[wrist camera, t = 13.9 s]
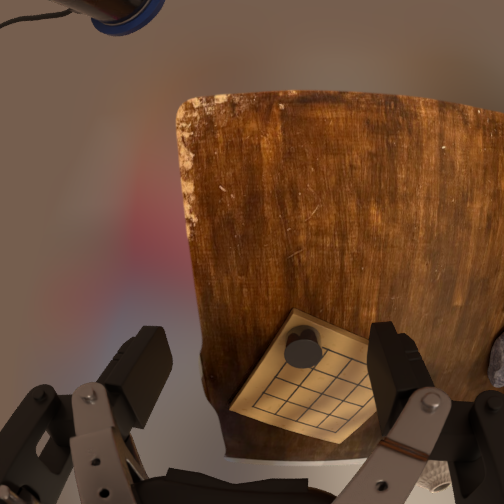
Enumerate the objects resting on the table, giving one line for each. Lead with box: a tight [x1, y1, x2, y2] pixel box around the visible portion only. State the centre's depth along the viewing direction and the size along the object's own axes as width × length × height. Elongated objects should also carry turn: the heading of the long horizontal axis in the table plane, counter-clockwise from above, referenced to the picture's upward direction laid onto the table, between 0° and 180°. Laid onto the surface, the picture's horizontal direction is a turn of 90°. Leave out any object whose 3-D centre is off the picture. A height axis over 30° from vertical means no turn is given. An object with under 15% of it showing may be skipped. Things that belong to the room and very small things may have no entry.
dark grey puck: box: [284, 325, 323, 369], centre depth 38 cm, size 5×5×3 cm
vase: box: [415, 460, 452, 493], centre depth 38 cm, size 13×13×17 cm
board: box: [229, 308, 377, 444], centre depth 44 cm, size 22×22×2 cm
